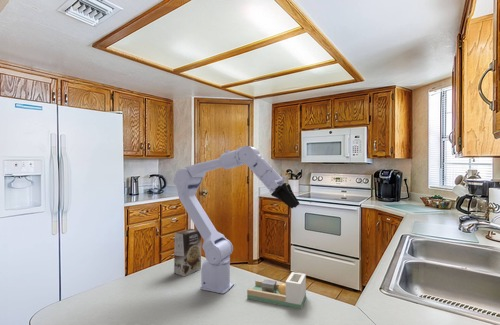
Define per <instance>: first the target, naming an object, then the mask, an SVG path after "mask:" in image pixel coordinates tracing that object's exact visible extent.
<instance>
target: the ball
mask: <svg viewBox="0 0 500 325" xmlns="http://www.w3.org/2000/svg"><path fill="white" fill-rule="evenodd" d="M279 284H280V285H279V287H278V292H279V293H280V294H281V295H286V282H285V283H284V282H283V283H279Z"/></svg>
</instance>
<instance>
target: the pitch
mask: <svg viewBox="0 0 500 325" xmlns="http://www.w3.org/2000/svg"><path fill="white" fill-rule="evenodd" d="M263 281H264V280H259V279H256V280H255V281H254V283H255V284H254V286H253V288H247V290H246V297H247V299H249V300H254V301H259V302H264V303H267V304H274V305H279V306H284V307H287V308H288V307H289V308H293V309H298V310H302V307H303V306H304V303H305V300H306V298H307V274H306V273H303V272H296V271H295V272H294V271H292V272H290V274H289V275H288V277H287V279H286V280H285V284H286V295H281V294H280V293H279V292H278V287H279V285H280V284H281V283H277V291H276V292H275V293H270V292H265V291H262V282H263Z"/></svg>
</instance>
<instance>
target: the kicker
mask: <svg viewBox="0 0 500 325" xmlns="http://www.w3.org/2000/svg"><path fill="white" fill-rule="evenodd" d="M262 281H263V282H262V291H265V292H270V293H275V292H276V291H277V282H278V281H277V280H273V279H267V278H265V279H263V280H262Z"/></svg>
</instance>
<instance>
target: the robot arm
mask: <svg viewBox="0 0 500 325" xmlns="http://www.w3.org/2000/svg"><path fill="white" fill-rule="evenodd" d="M260 153H261V152H260V151H259V149H257V148H256V147H254V146H249V145H244V146H240V147H237V149H235V150H231V151H230V150H227V149H226V150H225V151H224V153H222V154H221V155H220V157H219V158H215V159H211V160H210V159H209V160H207V161H202V162H199V163H194V164H192V165H188V166H185V167H184V168H179V169H178V170H176V172H175V174H174V179H173V184H174V186H175V187H176V190H177V196H178V199H179V201H180V202H181V204H182V206H183V208H184V209H185V211H186V213H187V215H188V216H189V218H190V220H191V221H192V223H193V224H194V226H195V228H196V229H197V230H198V231H199V233H200V235H201V239H203V240H202V241H203V243H202V245H201V249H202V250H203V251H204V258H205V260H204V261H203V263H202V264H201V269H200V271H201V272H200V273H201V280H200V281H201V283H200V284H201V286H200V287H199V289H200V290H204V291H207V292H212V293H213V292H214V293H218V294H223V295H224V294H226V293H227V292H228V291H229V290H230V289H231V288H233V287H234V286H235V282H232V281H230V280H231V270H230V269H231V266H230V265H231V255H232V253H233V251H234V246H233V244H232V242H231V241H230V240H229V239H227V237H225V235H224V234H223V233H221V232H220V231H218V230H217V229H216V227H215V225H214V224H213V223H212V220H211V219H210V218H209V216H208V214H207V212H206V211H205V210H204V208H203V206H202V205H201V203H200V201H199V200H198V198H197V196H196V194H197V191H198V189H199V188H200V186H201V184H202V182H203V179H204V178H205V177H206V175H207V174H206V173H207V172H210V171H214V170H217V169H220V168H222V169H225V170H230V169H233V168H234V169H235V168H239V167H241V166H245V165H246V166H247V167H248V168H249V169H250V170H251V171H252V173H253V174H254V176H256V177H257V178H258V180H259V181H261V182H262V184H263V185H264V186H265V187H266V188H267V189H268V191H269V192H270V193H271V194H270V195H271V197H274V198H276V199H278V200H280V201H281V202H283V203H284V204H285V205H286V206H288V207H289V208H290V209H294V208H295V209H296V208H297V207H298V206H299V205H300V201H299V200H298V198H297V197H296V195H295V194H294V192H293V189H292V188H291V184H290V183H288V184H287V182H285V181H286V179H287V176H286V175H283V177H282V176H281V175H280V174H279V172H277V171H276V169H274V167H273V166H271V164H270V163H269V162H268V161H267V160H266V159H265V158H264V157H263V156H262V155H261V154H260Z"/></svg>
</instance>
